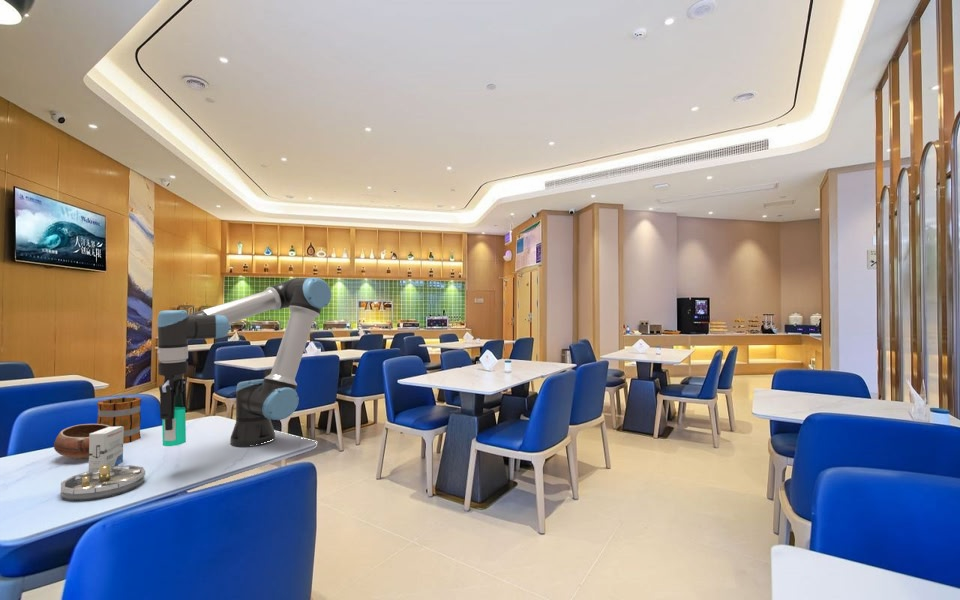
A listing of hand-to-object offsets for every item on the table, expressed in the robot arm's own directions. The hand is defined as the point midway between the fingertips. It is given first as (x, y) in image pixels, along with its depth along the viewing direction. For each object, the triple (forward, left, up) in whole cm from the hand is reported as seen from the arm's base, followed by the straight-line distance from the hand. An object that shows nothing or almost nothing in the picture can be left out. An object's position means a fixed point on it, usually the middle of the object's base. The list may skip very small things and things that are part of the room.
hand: (174, 437), depth 138 cm
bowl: (+35, -24, -11) cm, 44 cm away
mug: (+35, -46, -11) cm, 59 cm away
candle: (0, 0, -2) cm, 2 cm away
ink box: (+23, -12, -11) cm, 29 cm away
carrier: (+14, +7, -11) cm, 20 cm away
